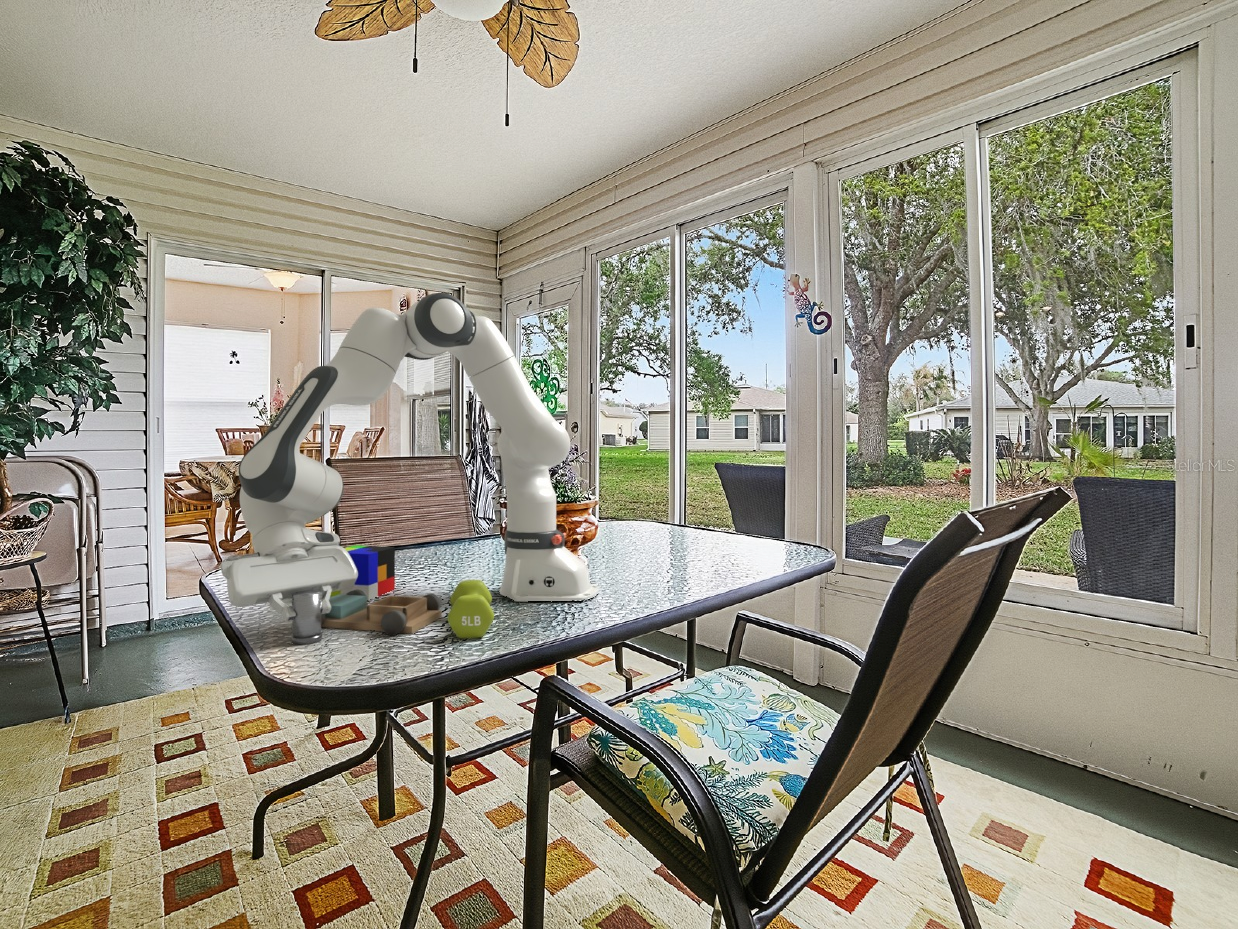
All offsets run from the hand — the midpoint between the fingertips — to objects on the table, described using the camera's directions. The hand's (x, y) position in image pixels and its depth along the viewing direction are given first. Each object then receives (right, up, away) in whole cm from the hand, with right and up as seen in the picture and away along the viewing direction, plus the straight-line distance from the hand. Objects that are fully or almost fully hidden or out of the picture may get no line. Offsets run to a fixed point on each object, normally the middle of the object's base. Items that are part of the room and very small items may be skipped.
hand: (308, 615), depth 103 cm
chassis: (+6, -4, +13) cm, 14 cm away
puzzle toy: (-5, -4, +34) cm, 35 cm away
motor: (0, -4, +1) cm, 4 cm away
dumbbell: (+25, -5, +10) cm, 27 cm away
